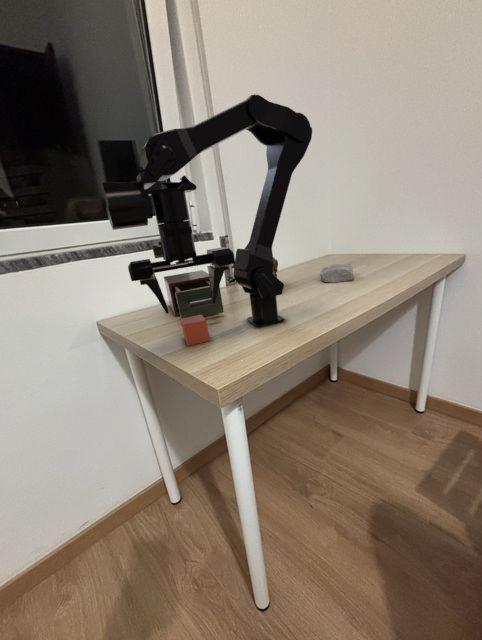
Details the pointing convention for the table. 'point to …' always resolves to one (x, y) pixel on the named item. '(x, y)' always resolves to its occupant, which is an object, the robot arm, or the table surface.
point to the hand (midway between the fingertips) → (191, 308)
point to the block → (195, 329)
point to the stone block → (337, 273)
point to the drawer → (197, 299)
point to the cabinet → (180, 280)
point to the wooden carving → (275, 267)
